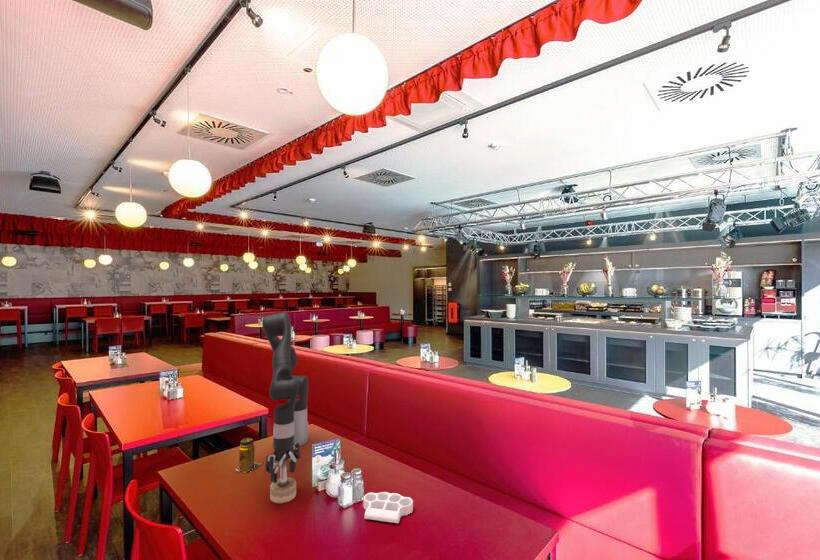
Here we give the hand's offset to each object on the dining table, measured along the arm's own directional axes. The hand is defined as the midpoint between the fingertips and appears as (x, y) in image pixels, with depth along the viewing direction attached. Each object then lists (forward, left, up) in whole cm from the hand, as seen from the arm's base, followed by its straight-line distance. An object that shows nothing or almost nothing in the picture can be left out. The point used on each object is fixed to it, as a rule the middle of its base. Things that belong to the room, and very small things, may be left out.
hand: (283, 477), depth 140 cm
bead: (0, 0, -7) cm, 7 cm away
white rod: (0, 0, -7) cm, 7 cm away
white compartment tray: (-12, +38, -8) cm, 41 cm away
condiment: (-8, -30, -7) cm, 32 cm away
